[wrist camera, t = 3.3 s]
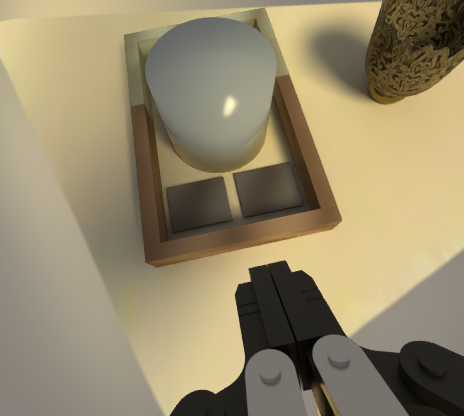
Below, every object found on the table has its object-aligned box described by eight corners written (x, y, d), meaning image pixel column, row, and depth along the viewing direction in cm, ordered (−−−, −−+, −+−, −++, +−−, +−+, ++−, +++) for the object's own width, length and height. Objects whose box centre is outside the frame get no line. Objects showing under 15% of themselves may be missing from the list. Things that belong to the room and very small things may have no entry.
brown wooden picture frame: (263, 31, 30) (264, 7, 27) (332, 229, 22) (342, 220, 20) (133, 56, 29) (124, 35, 27) (156, 267, 22) (145, 262, 19)
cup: (348, 58, 28) (387, -34, 20) (425, 67, 27) (494, -25, 19) (341, 117, 25) (382, 38, 18) (425, 130, 24) (504, 52, 17)
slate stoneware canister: (251, 84, 27) (256, 7, 20) (278, 160, 24) (294, 101, 17) (164, 103, 27) (137, 30, 20) (180, 183, 24) (155, 132, 17)
